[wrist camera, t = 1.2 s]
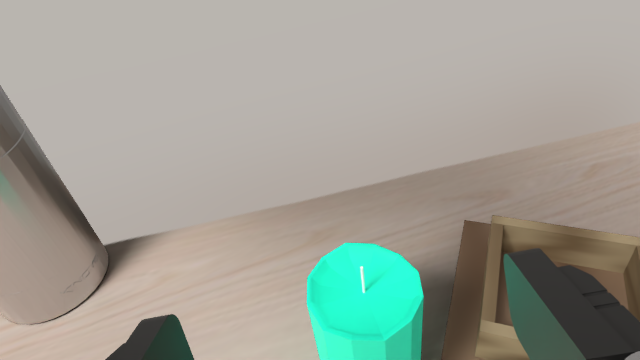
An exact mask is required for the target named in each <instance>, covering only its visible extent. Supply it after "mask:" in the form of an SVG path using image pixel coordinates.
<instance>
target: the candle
mask: <svg viewBox="0 0 640 360" xmlns="http://www.w3.org/2000/svg"><path fill="white" fill-rule="evenodd" d="M423 300H424V296H423V291H422V286H421V281H420V276H419V272H418V271H417V270H416V269H415V268H414V267H413V266H412V265H411V264H410V263H409V262H408V261H407V260H405V259H404V258H403V257H402V256H401V255H400V254H398V253H395V252H393V251H390V250H388V249H386V248H383V247H381V246H378V245H376V244H367V243H345V244H343V245H341V246H340V247H338V248H337V249H335V250H333V251H332V252H330V253H328V254H327V255H325V256H324V257H322V258H321V260H320V261H319V262H318V264H317V265H316V266H315V268H314V269H313V271H312V272H311V273H310V275H309V276H308V277H307V306H308V311H309V315H310V319H311V323H312V328H313V332H314V336H315V340H316V344H317V349H318V353H319V357H320V360H421V343H422V321H423Z"/></svg>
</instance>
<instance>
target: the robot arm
mask: <svg viewBox="0 0 640 360" xmlns="http://www.w3.org/2000/svg"><path fill="white" fill-rule="evenodd" d="M107 267H108V254H107V251H106V249H105V247H104V246H103V244H102V243H101V241H100V240H99V238H98V236H97V235H96V233H95V232H94V230H93V229H92V227H91V226H90V224H89V222H88V221H87V219H86V217H85V216H84V214H83V213H82V211H81V210H80V208H79V207H78V205H77V203H76V202H75V200H74V199H73V197H72V196H71V194H70V192H69V191H68V189H67V188H66V186H65V185H64V183H63V182H62V180H61V178H60V177H59V175H58V174H57V172H56V171H55V169H54V168H53V166H52V165H51V163H50V161H49V160H48V158H47V157H46V155H45V154H44V152H43V151H42V149H41V147H40V146H39V144H38V143H37V141H36V140H35V138H34V137H33V135H32V133H31V132H30V130H29V129H28V127H27V126H26V124H25V123H24V121H23V119H21V117H20V115H19V114H18V112H17V111H16V109H15V107H14V106H13V104H12V103H11V101H10V100H9V98H8V96H7V95H6V94H5V92H4V90H3V89H2V87H1V86H0V313H1V314H2V315H3V316H4V317H5V318H6V319H7V320H9V321H11V322H14V323H17V324H35V323H41V322H44V321H48V320H51V319H54V318H56V317H58V316H60V315H63V314H65V313H66V312H68V311H70V310H71V309H73V308H75V307H76V306H77V305H79V304H80V303H81V302H82V301H84V300H85V299H86V298H87V297H88V296H89V295H90V294H91V293H92V292H93V291H94V290H95V289H96V288H97V286H98V285H99V284H100V282H101V281H102V279H103V277H104V275H105V273H106V271H107ZM504 269H505V277H506V285H507V293H508V301H509V309H510V315H511V320H512V323H513V327H514V330H515V332H516V335H517V337H518V339H519V341H520V343H521V344H522V346H523V348H524V350H525V351H526V353H527V355H528V357H529V358H530V360H640V321H639V320H638V319H637V318H636V317H635V316H634V315H633V314H632V313H631V312H629V311H628V310H627V309H626V308H625V307H624V306H623V305H620V302H619V301H618V300H617V299H616V298H615V297H614V296H613V295H612V294H611V293H608V292H607V289H606V288H605V287H604V286H603V285H602V284H601V283H600V282H599V281H598V280H597V279H596V278H595V277H594V276H592V275H591V274H588V273H586V272H584V271H582V270H580V269H578V268H576V267H573V266H571V265H567V266H561V267H557V266H556V265H555V264H554V263H553V262H552V261H551V260H550V259H549V257H548V256H547V255H546V254H545V253H544V252H543V251H542V250H541V249H540V248H534V249H529V250H523V251H518V252H513V253H507V254H505V255H504ZM105 360H194V358H193V355H192V353H191V350H190V347H189V345H188V342H187V340H186V337H185V334H184V332H183V329H182V327H181V324H180V322H179V320H178V318H177V317H176V316H175V315H173V314H170V315H165V316H160V317H154V318H149V319H144V320H142V321H141V322H140V323H139V324H138V326H137V327H136V329H135V330H134V332H133V333H132V334H131V336H130V337H129V339H128V340H127V342H126V343H124V344H123V345H121V346H120V347H119V348H118V349H117V350H116V351H115V352H113V353H112V354H111V355H110V356H109V357H108V358H107V359H105Z"/></svg>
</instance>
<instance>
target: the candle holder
mask: <svg viewBox="0 0 640 360" xmlns="http://www.w3.org/2000/svg"><path fill="white" fill-rule="evenodd" d="M534 248H540V249H541V250H542V251H543V252H544V253H545V254H546V255H547V256H548V257H549V259H550V260H551V261H552V262H553V263H554V264H555V265H556V266H557V267H561V266H567V265H571V266H573V267H576V268H578V269H580V270H582V271H584V272H586V273H588V274H591V275H592V276H594V277H595V278H596V279H597V280H598V281H599V282H600V283H601V284H602V285H603V286H604V287H605V288H606V289H607V292H608V293H611V294H612V295H613V296H614V297H615V298H616V299H617V300H618V301H619V302H620V305H623V306H624V307H625V308H626V309H627V310H628V311H629V312H631V313H632V314H633V315H634V316H635V317H636V318H637V319H638V320H639V321H640V237H633V236H627V235H620V234H613V233H607V232H600V231H594V230H587V229H580V228H574V227H567V226H561V225H554V224H547V223H541V222H534V221H528V220H521V219H514V218H508V217H501V216H495V215H493V216H492V221H491V224H486V223H480V222H473V221H467V220H465V221H464V227H463V233H462V239H461V245H460V251H459V257H458V262H457V268H456V274H455V280H454V286H453V292H452V298H451V304H450V310H449V316H448V321H447V327H446V333H445V339H444V345H443V351H442V357H441V360H530V358H529V357H528V355H527V353H526V351H525V350H524V348H523V346H522V344H521V343H520V341H519V339H518V337H517V335H516V332H515V330H514V327H513V323H512V320H511V315H510V309H509V301H508V293H507V285H506V277H505V269H504V255H505V254H507V253H513V252H518V251H523V250H529V249H534Z"/></svg>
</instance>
